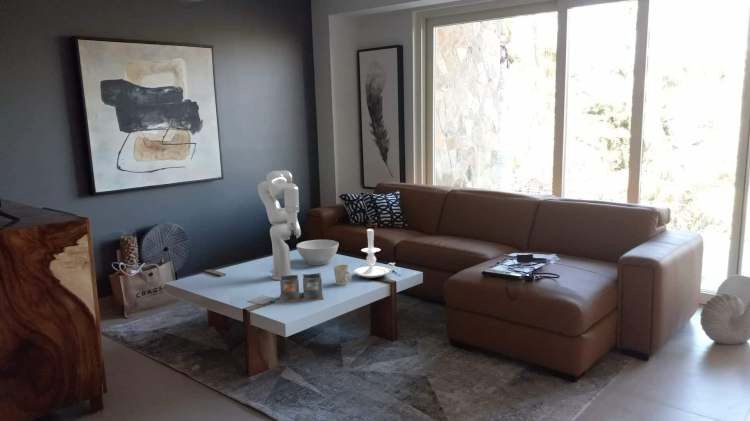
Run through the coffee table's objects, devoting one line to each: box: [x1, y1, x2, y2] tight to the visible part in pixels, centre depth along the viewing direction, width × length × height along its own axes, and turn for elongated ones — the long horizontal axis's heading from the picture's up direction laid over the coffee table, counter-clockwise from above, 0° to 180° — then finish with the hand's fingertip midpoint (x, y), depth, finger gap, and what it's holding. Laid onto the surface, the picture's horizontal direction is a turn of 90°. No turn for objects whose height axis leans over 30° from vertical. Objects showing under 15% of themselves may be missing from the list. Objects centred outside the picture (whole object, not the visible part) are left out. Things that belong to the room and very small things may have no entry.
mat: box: [247, 294, 279, 305], centre depth 303 cm, size 11×11×1 cm
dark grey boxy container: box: [279, 272, 324, 303], centre depth 305 cm, size 22×11×11 cm, turn 99°
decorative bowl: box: [296, 239, 339, 266], centre depth 376 cm, size 27×27×12 cm
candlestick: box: [353, 228, 396, 279], centre depth 340 cm, size 21×25×28 cm
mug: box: [333, 263, 352, 286], centre depth 327 cm, size 8×13×10 cm, turn 44°
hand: (293, 240), depth 317 cm, fingers open, 9 cm apart
